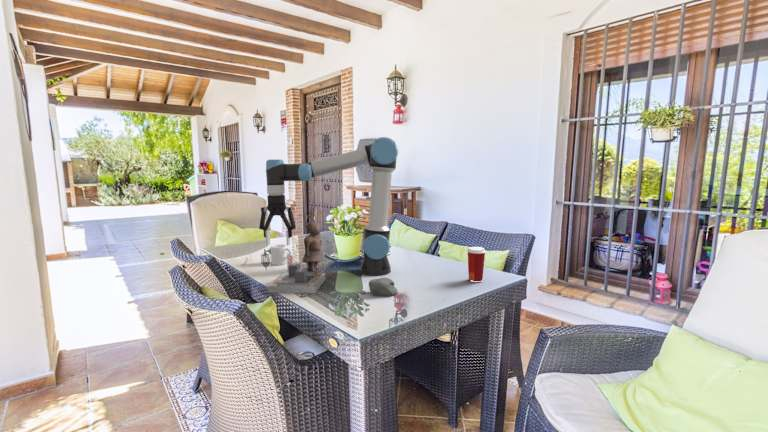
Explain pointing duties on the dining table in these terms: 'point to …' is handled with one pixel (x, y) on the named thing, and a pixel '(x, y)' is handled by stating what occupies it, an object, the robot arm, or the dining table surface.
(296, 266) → the block
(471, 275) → the beer glass
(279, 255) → the mug
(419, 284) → the dining table surface
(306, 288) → the switch unit
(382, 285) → the stone
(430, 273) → the dining table surface
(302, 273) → the slider near
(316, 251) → the clay figurine
